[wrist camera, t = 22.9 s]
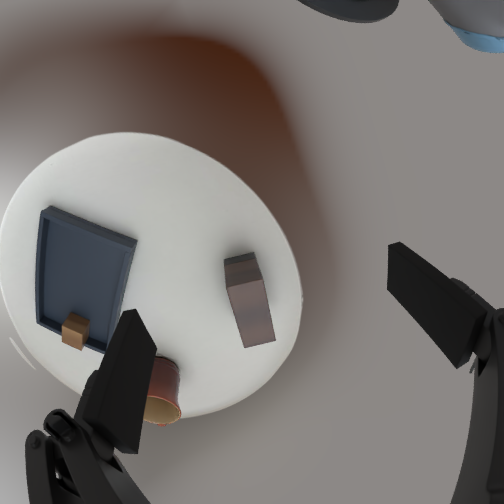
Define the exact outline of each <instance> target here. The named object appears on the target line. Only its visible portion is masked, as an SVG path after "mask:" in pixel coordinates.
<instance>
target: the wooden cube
mask: <svg viewBox="0 0 504 504" xmlns="http://www.w3.org/2000/svg"><path fill="white" fill-rule="evenodd" d="M89 328H90V320H87V319H85V318H83V317H81V316H78V315H76V314H74V313H72V312H70V314H69V315H68V317H67V318H66V320H65V321H64V323H63V324H62V342H63V343H65V344H68V345H70V346H72V347H74V348H76V349H79V350H81V351H82V349H83V347H84V345H85V343H86V341H87V339H88V337H89Z"/></svg>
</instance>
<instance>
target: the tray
mask: <svg viewBox="0 0 504 504" xmlns="http://www.w3.org/2000/svg"><path fill="white" fill-rule="evenodd" d="M136 245H137V240H135V239H132V238H129V237H127V236H124V235H122V234H119V233H117V232H114V231H111V230H109V229H106V228H104V227H101V226H99V225H96V224H94V223H91V222H89V221H86V220H84V219H81V218H79V217H76V216H74V215H72V214H69V213H67V212H64V211H62V210H59V209H57V208H55V207H52V206H50V207H48V208H46V209H44V210H42V211H41V214H40V221H39V229H38V239H37V252H36V272H35V302H36V322H37V324H39V325H41V326H43V327H45V328H47V329H49V330H51V331H53V332H55V333H57V334H59V335H61V336H62V324H63V323H64V321H65V320H66V318H67V317H68V315H69V314H70V312H72V313H74V314H76V315H78V316H81V317H83V318H85V319H87V320H90V328H89V337H88V339H87V341H86V343H85V345H84V346H85V347H88V348H90V349H92V350H95V351H97V352H100V353H102V354H105V352H106V350H107V347H108V345H109V343H110V340H111V338H112V336H113V333H114V331H115V329H116V326H117V324H118V320H119V315H120V310H121V305H122V301H123V296H124V292H125V287H126V283H127V279H128V275H129V271H130V267H131V263H132V259H133V256H134V252H135V248H136Z"/></svg>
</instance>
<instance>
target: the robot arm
mask: <svg viewBox="0 0 504 504" xmlns="http://www.w3.org/2000/svg"><path fill="white" fill-rule="evenodd" d="M353 1H367V0H353ZM428 1H429V2H430V3H431V4H432V5H433V6H434V8H435V9H436V10H437V11H438V12H439V14H440V15H441V16H442V17H443V19H444V21H445V23H446V24H447V25H449V26H450V27H451V28H452V29H453V31H454V32H455V33H456V34H457V36H458V37H459V38H460V40H461V41H462V42H463V43H465V44H466V45H467V46H469V47H471V48H473V49H475V50H478V51H482V52H489V53H504V0H428ZM387 290H388V291H389V292H390V293H391V294H392V295H393V296H394V297H395V298H396V299H397V300H398V302H399V303H400V304H401V305H402V306H403V307H404V308H405V309H406V310H407V311H408V312H409V314H410V315H411V316H412V317H413V318H414V319H415V320H416V321H417V323H418V324H419V325H420V326H421V327H422V328H423V329H424V330H425V332H426V333H427V334H428V335H429V336H430V338H431V339H432V340H433V341H434V342H435V343H436V345H437V346H438V347H439V348H440V349H441V351H442V352H443V353H444V354H445V355H446V357H447V358H448V359H449V360H450V362H451V363H452V364H453V365H454V367H455V368H456V369H458V368H459V367H461V366H462V365H464V364H465V363H467V362H468V361H469V359H470V357H471V355H472V352H474V353H475V354H476V355H477V356H476V358H475V360H474V363H473V365H472V367H471V369H470V373H472V371H473V369H474V368H475V373H474V392H473V403H472V413H471V421H470V428H469V434H468V440H467V445H466V450H465V454H464V459H463V463H462V467H461V471H460V475H459V479H458V482H457V485H456V488H455V492H454V495H453V497H452V500H451V503H450V504H504V308H500V309H497V310H496V309H494V308H493V307H492V306H491V305H490V304H489V303H488V302H486V301H485V300H484V299H483V298H482V297H480V296H479V295H478V294H477V293H476V294H475V292H474V291H473V290H472V289H470V288H469V287H468V286H467V285H466V284H465V283H463V282H462V281H460V280H457V279H455V278H451V279H449V278H448V277H447V276H446V275H444V274H443V273H442V272H440V271H439V270H438V269H437V268H435V267H434V266H433V265H431V264H430V263H428V262H427V261H426V260H425V259H423V258H422V257H421V256H419V255H418V254H416V253H415V252H414V251H412V250H411V249H409V248H408V247H407V246H405V245H404V244H403V243H401V242H397V243H393V244H390V245H388V280H387ZM156 351H157V347H156V345H155V343H154V341H153V340H152V338H151V336H150V334H149V333H148V331H147V329H146V327H145V325H144V323H143V321H142V320H141V318H140V316H139V314H138V312H137V310H136V309H132V310H127V311H123V313H122V315H121V317H120V320H119V322H118V324H117V326H116V329H115V331H114V333H113V336H112V338H111V340H110V343H109V345H108V347H107V350H106V352H105V355H104V357H103V360H102V362H101V365H100V367H99V370H94V372H93V373H92V374H91V375H90V377H89V378H88V380H87V382H86V385H85V389H84V390H83V393H82V396H81V398H80V401H79V404H78V407H77V410H76V413H75V415H74V419H73V418H71V416H70V415H69V414H68V413H66V412H65V411H64V410H62V409H55V410H53V411H51V412H50V413H49V414H48V415H47V417H46V418H45V420H44V424H43V425H44V430H45V431H46V432H48V433H49V434H50V435H51V436H46V435H45V434H44V433H43V432H42V431H40V430H34V431H32V432H31V433H30V434H29V435H28V437H27V439H26V443H25V458H26V475H27V486H28V494H29V501H30V504H150V502H149V501H148V500H147V498H146V497H145V496H144V495H143V493H142V492H141V491H140V489H139V488H138V487H137V485H136V484H135V483H134V481H133V480H132V478H131V477H130V476H129V474H128V472H127V471H126V469H125V468H124V466H123V465H122V463H121V462H120V460H119V459H118V457H117V456H116V455H115V454H114V447H115V448H116V449H118V450H119V451H120V452H122V453H128V454H138V449H139V442H140V436H141V429H142V423H143V417H144V411H145V406H146V400H147V395H148V389H149V384H150V379H151V374H152V370H153V365H154V360H155V356H156ZM56 473H58V475H59V479H58V478H56Z"/></svg>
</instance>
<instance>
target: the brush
mask: <svg viewBox="0 0 504 504" xmlns="http://www.w3.org/2000/svg"><path fill="white" fill-rule="evenodd" d="M224 267H225V280H226V289H227V292H228V296H229V299H230V303H231V306H232V309H233V313H234V316H235V319H236V323H237V326H238V329H239V332H240V336H241V339H242V342H243V345H244V348H247V347H252V346H256V345H260V344H264V343H268V342H273V341H276V339H275V334H274V329H273V324H272V319H271V315H270V310H269V305H268V300H267V296H266V291H265V286H264V281H263V277H262V275H261V272H260V269H259V266H258V263H257V260H256V257H255V254H254V252H253V253H249V254H245V255H241V256H237V257H232V258H228V259H224Z"/></svg>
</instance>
